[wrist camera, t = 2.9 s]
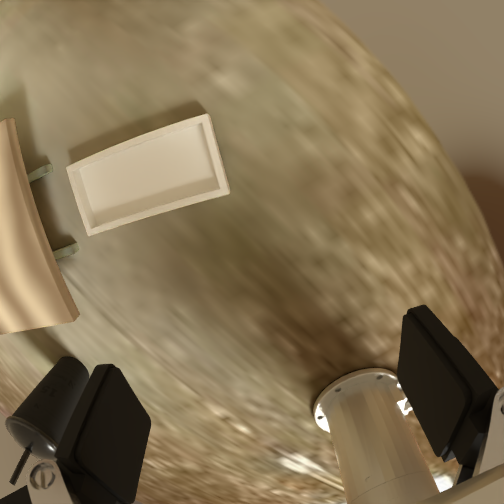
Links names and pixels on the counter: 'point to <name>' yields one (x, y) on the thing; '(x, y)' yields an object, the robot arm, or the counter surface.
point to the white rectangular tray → (149, 175)
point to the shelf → (27, 249)
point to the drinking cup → (47, 412)
